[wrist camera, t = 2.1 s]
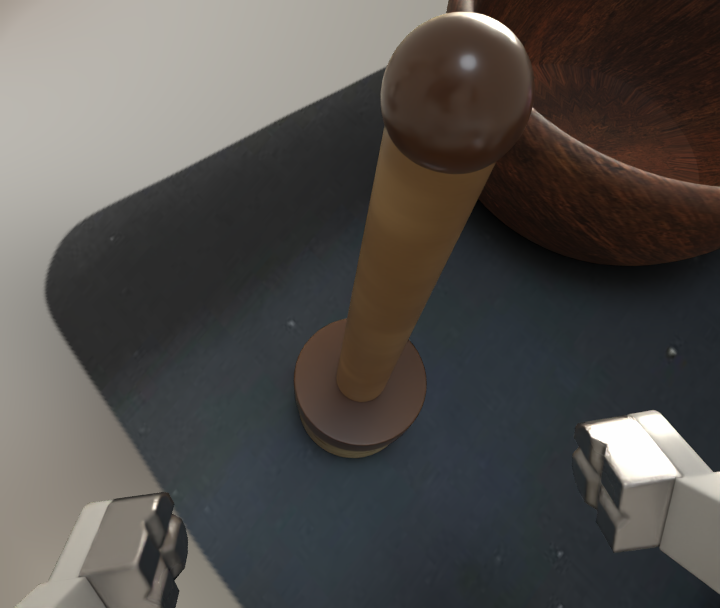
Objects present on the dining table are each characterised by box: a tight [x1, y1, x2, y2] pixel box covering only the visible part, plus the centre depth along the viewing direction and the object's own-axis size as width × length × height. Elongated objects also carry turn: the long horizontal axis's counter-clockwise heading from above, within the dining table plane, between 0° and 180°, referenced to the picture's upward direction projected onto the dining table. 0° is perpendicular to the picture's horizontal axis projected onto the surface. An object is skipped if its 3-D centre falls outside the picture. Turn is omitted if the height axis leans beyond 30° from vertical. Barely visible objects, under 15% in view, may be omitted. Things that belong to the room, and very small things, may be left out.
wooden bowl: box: [446, 0, 720, 266], centre depth 34 cm, size 25×25×10 cm
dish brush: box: [294, 12, 535, 458], centre depth 18 cm, size 6×6×23 cm
